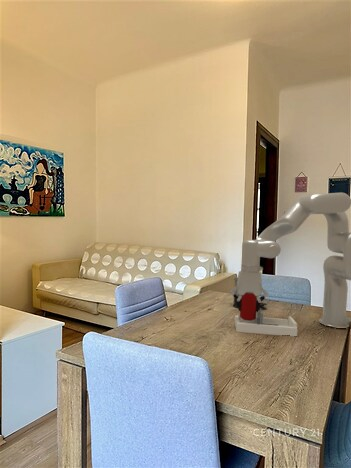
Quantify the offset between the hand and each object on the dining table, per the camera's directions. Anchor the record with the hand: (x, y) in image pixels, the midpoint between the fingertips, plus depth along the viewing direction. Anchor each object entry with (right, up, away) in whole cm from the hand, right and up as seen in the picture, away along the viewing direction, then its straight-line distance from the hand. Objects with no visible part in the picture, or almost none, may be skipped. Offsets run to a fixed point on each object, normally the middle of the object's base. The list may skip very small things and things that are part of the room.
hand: (248, 310), depth 138 cm
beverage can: (0, -4, 0) cm, 4 cm away
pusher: (+8, -7, -1) cm, 11 cm away
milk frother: (+8, -7, +34) cm, 36 cm away
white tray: (+7, -8, -1) cm, 10 cm away
